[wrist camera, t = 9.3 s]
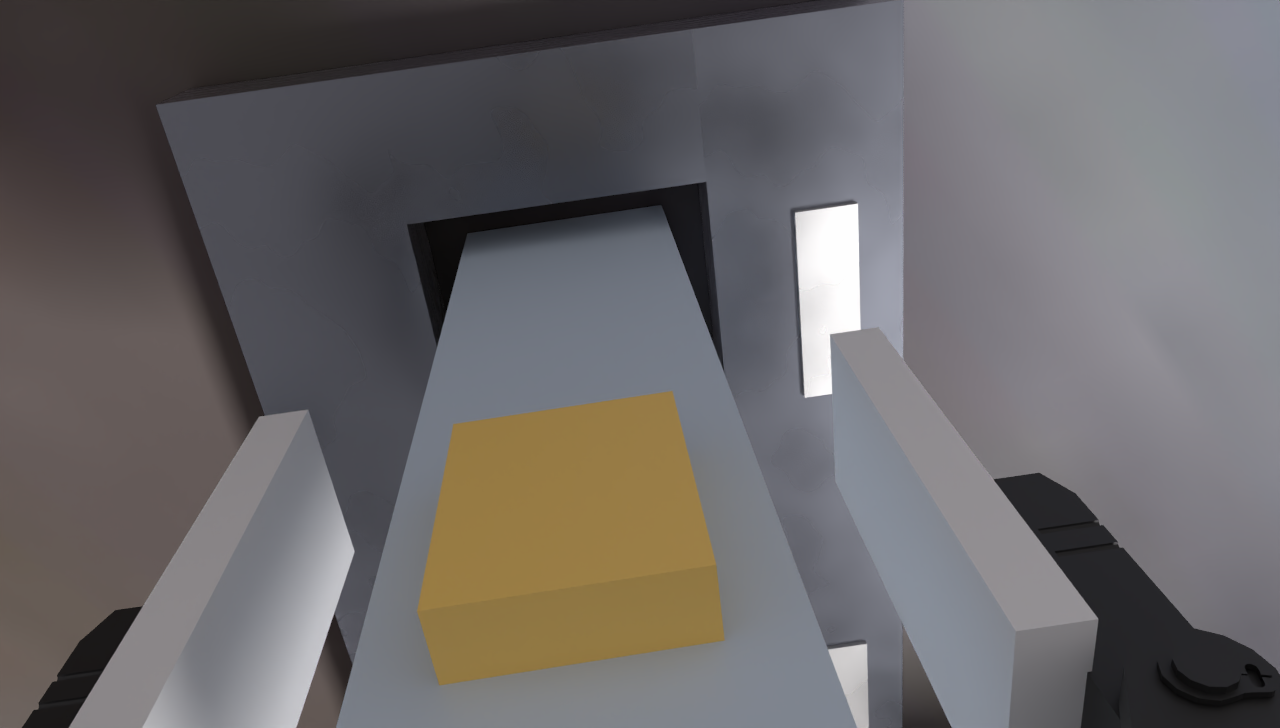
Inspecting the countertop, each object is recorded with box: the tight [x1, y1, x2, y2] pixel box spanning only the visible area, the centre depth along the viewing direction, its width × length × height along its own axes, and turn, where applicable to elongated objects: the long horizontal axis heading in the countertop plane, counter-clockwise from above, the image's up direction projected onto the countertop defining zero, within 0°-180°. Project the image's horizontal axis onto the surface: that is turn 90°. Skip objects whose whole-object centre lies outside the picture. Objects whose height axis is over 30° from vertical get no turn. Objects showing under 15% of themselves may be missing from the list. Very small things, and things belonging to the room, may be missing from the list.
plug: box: [336, 205, 857, 728], centre depth 13 cm, size 4×5×14 cm
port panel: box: [156, 0, 904, 728], centre depth 21 cm, size 22×13×2 cm, turn 7°
